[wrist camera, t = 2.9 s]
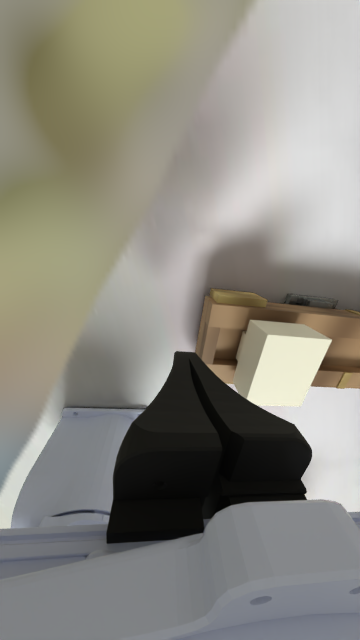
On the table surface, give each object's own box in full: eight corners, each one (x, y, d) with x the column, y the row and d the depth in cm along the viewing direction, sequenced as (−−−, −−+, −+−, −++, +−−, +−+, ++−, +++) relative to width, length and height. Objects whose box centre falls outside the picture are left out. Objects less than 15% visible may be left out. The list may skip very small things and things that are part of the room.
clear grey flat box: (263, 365, 21) (270, 374, 20) (287, 293, 18) (298, 297, 17) (303, 368, 22) (312, 376, 20) (333, 298, 19) (346, 303, 17)
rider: (227, 371, 17) (244, 404, 13) (242, 313, 15) (267, 334, 11) (272, 373, 17) (300, 406, 14) (293, 318, 15) (332, 339, 12)
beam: (191, 366, 19) (196, 387, 16) (205, 287, 16) (214, 296, 13) (374, 376, 22) (407, 396, 19) (414, 310, 19) (460, 322, 16)
